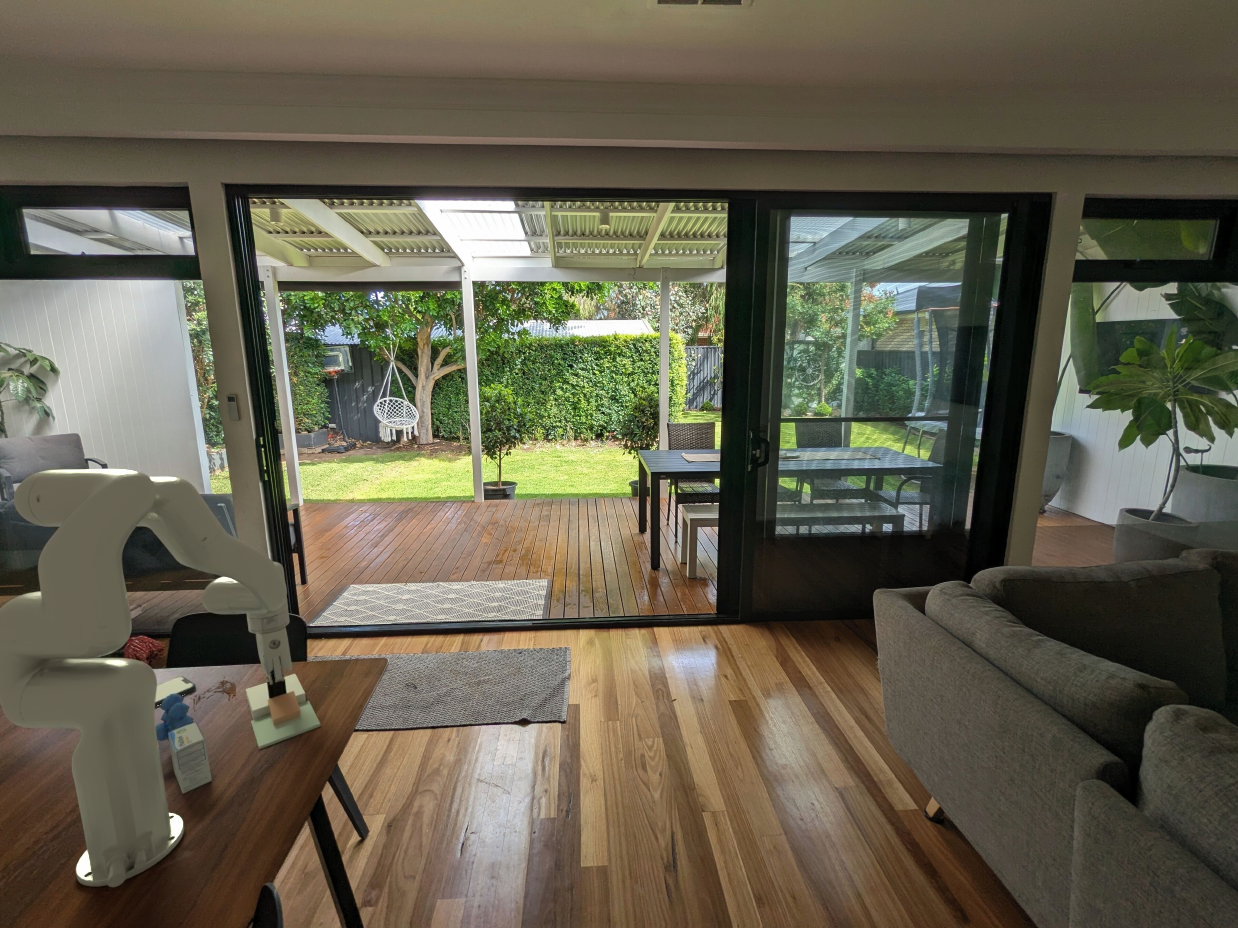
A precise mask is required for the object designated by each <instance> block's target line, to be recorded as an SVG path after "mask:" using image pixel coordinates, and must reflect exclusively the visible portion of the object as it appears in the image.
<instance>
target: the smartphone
mask: <svg viewBox="0 0 1238 928" xmlns="http://www.w3.org/2000/svg"><path fill="white" fill-rule="evenodd" d="M196 687H197V686H196V683H193V682H192V681H191V680H190V679H188V678H187V677H185V676H178V677H175V678H173V679H169V680H168V681H165V682H162V683H159V684H157V691H156V699H155V708H157V707H156V706H157V705H160V704H162V702H163V700H164V699H165V698H166V697H167V696H169V695H170V694H173V693H175V694H178V695H180V696H182V695H184V694H187V693H189V694H191V693H193V692H194V690H195V689H196ZM192 691H193V692H192ZM195 691H196V690H195ZM190 692H191V693H190ZM187 695H188V694H187ZM184 696H185V695H184ZM182 697H183V696H182ZM160 706H161V705H160Z"/></svg>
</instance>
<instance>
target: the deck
mask: <svg viewBox="0 0 1238 928" xmlns="http://www.w3.org/2000/svg"><path fill="white" fill-rule="evenodd" d="M284 679H285V683H286V692H287V693H289V692H292V691H294V693H295V696H296V699H297V702H298V704H301V703H304V702H307V700H306V692H305V690H304V688H303V686H302V684H301V682H300V680H299V678H298V676H297V675H296V673H293V674H290V675H287V676H284ZM245 693H246V701H247V704H248V707H249V711H250V714H251V717H252V720H255V719H258V718H261V717H264V716H267V715H269V714H270V710H269V707H268V699H269V695H268V686H267V682H264V683H261V684H258V685H255V686H251V687H248V688H245Z"/></svg>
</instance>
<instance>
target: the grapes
mask: <svg viewBox="0 0 1238 928" xmlns="http://www.w3.org/2000/svg"><path fill="white" fill-rule="evenodd" d="M184 700H185V697H184V696H180V695H178V694H175V693H173V694H170V695H169V696H167V697H166V698H165V699H164V700H163V702H162V704H161V705H160V706H159V708H160V709H161V710H162V711H164V712H163V713H162V715H161V718H160V720H161V721H162V723H158V724H156V725H155V728H156V736H157V742H158V741H159V742H162V741H168V742H169V738H168V733H169V732H171V731H173V730H176V729H178V728H181V727H183V726H186V725H189V724H192V723H195V721H194V720H195V719H194V717H192V716H190V715H188V712H189V710H190V707H191V706H190V705H187V704H186V703H184Z"/></svg>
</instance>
